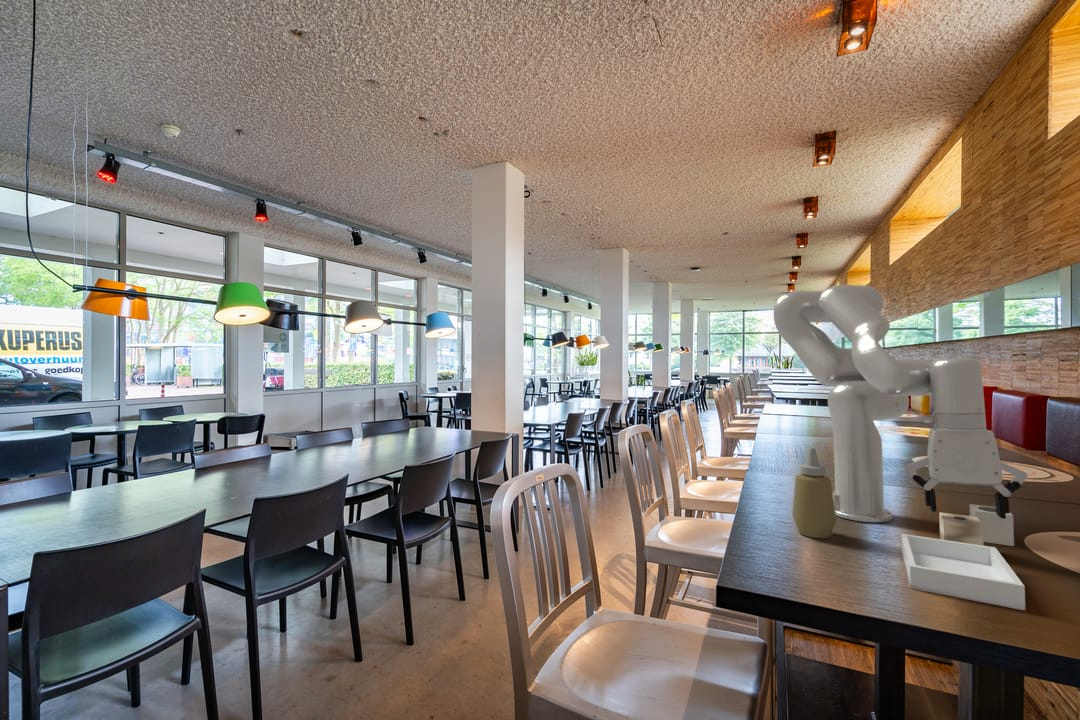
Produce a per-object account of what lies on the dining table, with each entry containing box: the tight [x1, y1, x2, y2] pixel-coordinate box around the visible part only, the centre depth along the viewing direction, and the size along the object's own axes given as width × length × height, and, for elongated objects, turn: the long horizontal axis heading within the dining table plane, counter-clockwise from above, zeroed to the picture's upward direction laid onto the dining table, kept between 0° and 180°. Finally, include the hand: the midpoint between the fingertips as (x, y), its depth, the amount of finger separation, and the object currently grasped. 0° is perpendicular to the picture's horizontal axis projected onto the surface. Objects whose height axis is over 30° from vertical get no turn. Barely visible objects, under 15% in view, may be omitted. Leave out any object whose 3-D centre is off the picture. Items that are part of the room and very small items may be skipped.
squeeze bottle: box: [792, 447, 837, 539], centre depth 99 cm, size 8×8×18 cm
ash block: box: [939, 511, 985, 546], centre depth 90 cm, size 6×6×6 cm
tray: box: [900, 533, 1026, 611], centre depth 78 cm, size 13×17×4 cm
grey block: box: [968, 503, 1015, 547], centre depth 95 cm, size 6×6×6 cm
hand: (966, 513), depth 89 cm, fingers open, 9 cm apart
